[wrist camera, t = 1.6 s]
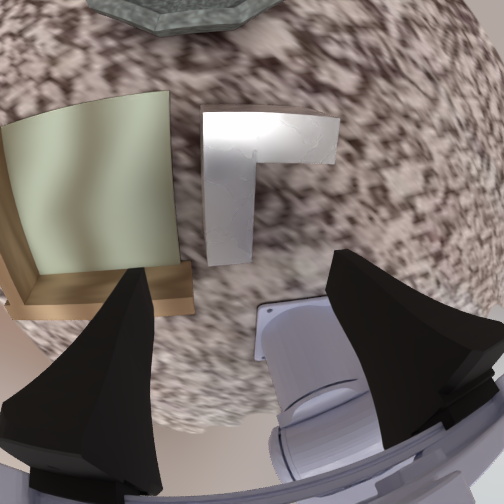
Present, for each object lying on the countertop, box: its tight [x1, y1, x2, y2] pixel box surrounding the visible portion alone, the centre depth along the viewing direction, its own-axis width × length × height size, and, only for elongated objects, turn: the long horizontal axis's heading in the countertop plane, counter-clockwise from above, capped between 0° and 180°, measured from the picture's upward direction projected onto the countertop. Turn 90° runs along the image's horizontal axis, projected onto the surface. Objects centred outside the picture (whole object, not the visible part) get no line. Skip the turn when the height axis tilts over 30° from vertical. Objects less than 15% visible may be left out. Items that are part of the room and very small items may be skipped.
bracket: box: [200, 104, 340, 266], centre depth 16 cm, size 8×6×5 cm
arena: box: [0, 91, 195, 320], centre depth 15 cm, size 15×14×4 cm
